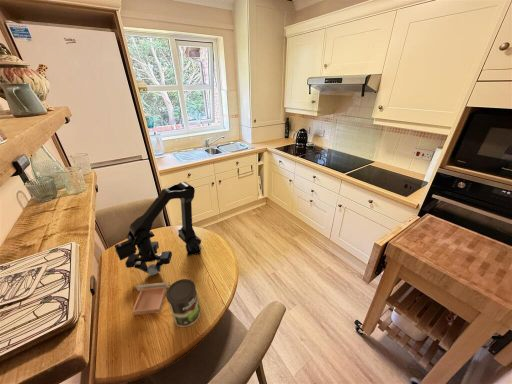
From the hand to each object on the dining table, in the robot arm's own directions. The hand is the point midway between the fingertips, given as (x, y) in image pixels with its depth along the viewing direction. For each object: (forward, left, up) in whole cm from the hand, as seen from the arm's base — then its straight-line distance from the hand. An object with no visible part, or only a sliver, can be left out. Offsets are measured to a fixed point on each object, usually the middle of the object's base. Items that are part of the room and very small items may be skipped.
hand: (153, 271), depth 101 cm
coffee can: (-19, +22, -1) cm, 29 cm away
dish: (-3, +15, -1) cm, 15 cm away
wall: (-2, +9, -1) cm, 9 cm away
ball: (0, 0, -1) cm, 1 cm away
